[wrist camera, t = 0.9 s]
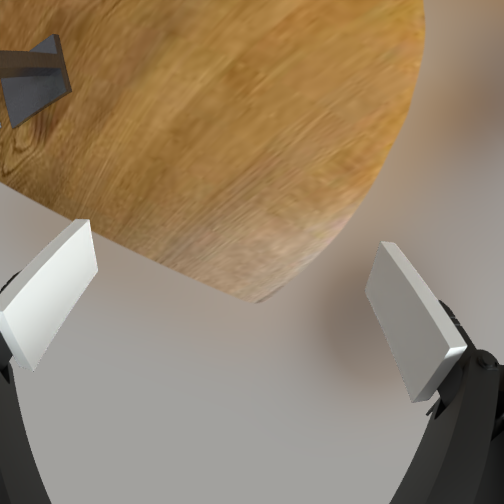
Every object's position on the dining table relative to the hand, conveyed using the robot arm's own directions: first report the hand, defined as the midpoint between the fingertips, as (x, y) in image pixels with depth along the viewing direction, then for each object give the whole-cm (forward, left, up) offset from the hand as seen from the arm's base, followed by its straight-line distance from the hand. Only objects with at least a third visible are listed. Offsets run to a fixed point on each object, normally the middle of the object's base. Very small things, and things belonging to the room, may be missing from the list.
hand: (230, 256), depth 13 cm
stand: (-21, -28, -27) cm, 44 cm away
